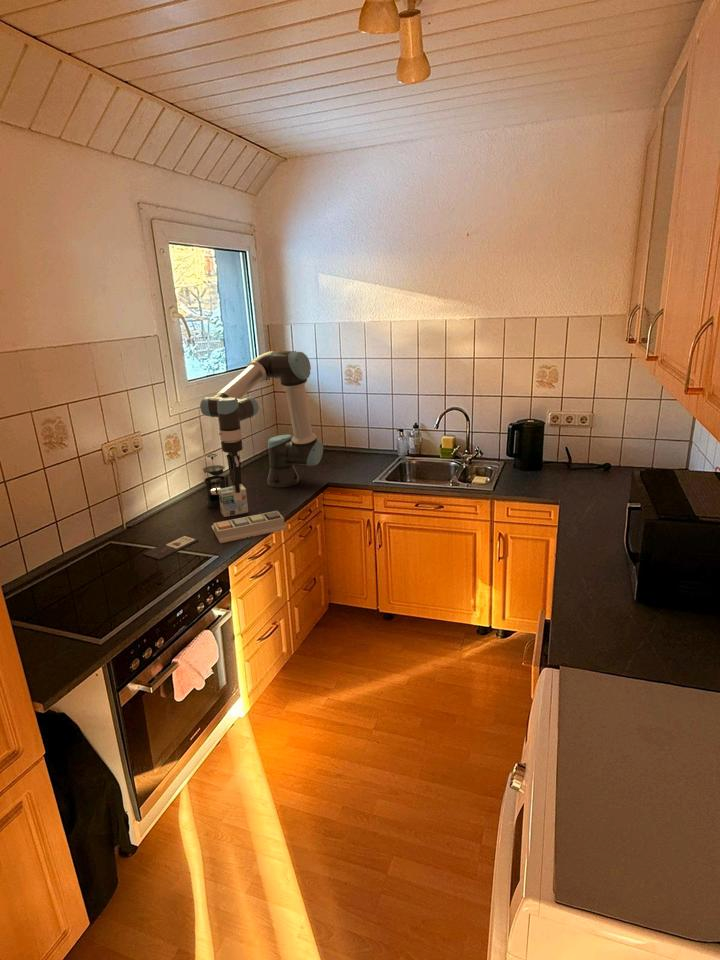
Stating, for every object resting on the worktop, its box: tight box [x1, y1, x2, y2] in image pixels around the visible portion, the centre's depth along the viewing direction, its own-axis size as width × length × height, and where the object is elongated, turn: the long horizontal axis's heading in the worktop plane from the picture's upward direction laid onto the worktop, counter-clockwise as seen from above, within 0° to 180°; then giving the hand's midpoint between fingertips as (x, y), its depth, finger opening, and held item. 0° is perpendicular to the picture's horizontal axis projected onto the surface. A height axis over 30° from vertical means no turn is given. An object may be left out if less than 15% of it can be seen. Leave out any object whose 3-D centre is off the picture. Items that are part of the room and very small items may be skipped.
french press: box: [202, 453, 230, 509], centre depth 245 cm, size 12×9×23 cm
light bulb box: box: [218, 484, 249, 518], centre depth 237 cm, size 11×7×11 cm, turn 117°
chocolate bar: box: [142, 535, 199, 561], centre depth 208 cm, size 9×1×18 cm
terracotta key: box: [216, 520, 231, 530], centre depth 216 cm, size 4×4×2 cm
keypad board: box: [211, 510, 287, 544], centre depth 221 cm, size 26×16×4 cm, turn 115°
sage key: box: [250, 514, 264, 524], centre depth 221 cm, size 4×4×2 cm
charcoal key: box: [265, 511, 280, 520], centre depth 223 cm, size 4×4×2 cm
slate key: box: [234, 517, 248, 527], centre depth 218 cm, size 4×4×2 cm
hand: (237, 499), depth 215 cm, fingers closed
